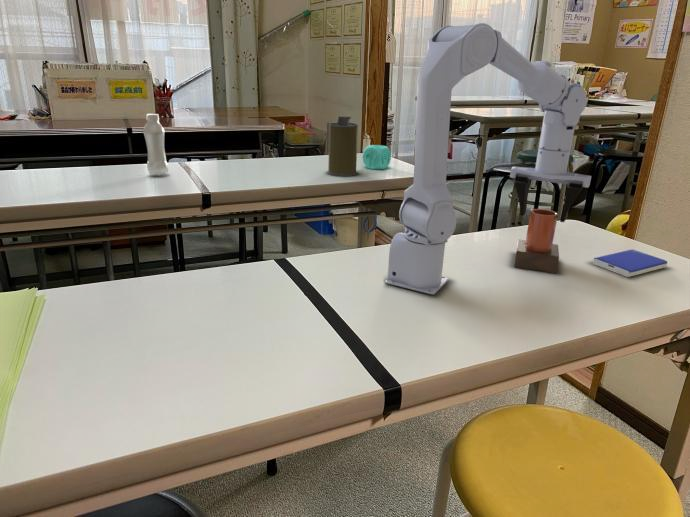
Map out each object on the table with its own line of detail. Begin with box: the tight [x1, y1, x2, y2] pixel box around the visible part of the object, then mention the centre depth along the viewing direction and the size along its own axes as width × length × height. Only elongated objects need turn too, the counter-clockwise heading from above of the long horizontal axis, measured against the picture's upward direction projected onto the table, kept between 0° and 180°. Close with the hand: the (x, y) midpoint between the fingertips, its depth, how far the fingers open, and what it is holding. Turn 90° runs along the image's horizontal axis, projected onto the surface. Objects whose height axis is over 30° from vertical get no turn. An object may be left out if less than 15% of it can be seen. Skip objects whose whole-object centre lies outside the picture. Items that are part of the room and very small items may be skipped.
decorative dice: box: [362, 144, 392, 170], centre depth 197 cm, size 8×8×8 cm
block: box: [513, 239, 560, 274], centre depth 106 cm, size 8×8×4 cm
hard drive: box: [592, 248, 668, 278], centre depth 106 cm, size 2×8×12 cm
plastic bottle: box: [142, 113, 169, 177], centre depth 170 cm, size 6×7×20 cm
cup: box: [525, 208, 559, 252], centre depth 104 cm, size 5×5×8 cm
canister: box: [326, 115, 359, 177], centre depth 182 cm, size 11×10×20 cm
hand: (542, 217), depth 103 cm, fingers open, 7 cm apart
